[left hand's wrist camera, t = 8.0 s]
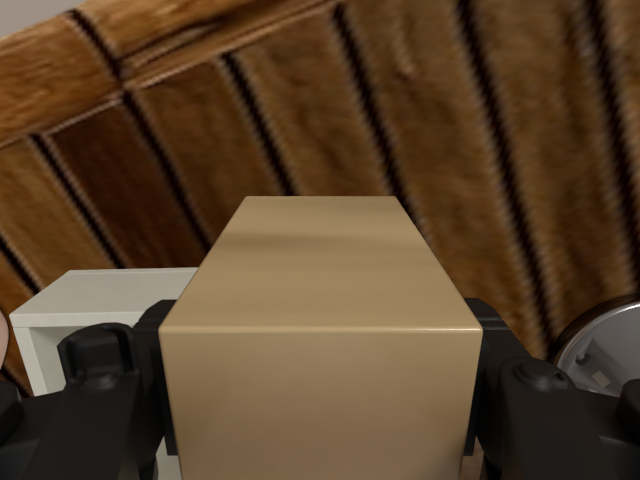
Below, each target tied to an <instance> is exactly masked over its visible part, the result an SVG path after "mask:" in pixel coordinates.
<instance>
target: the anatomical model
mask: <svg viewBox="0 0 640 480" xmlns="http://www.w3.org/2000/svg"><path fill="white" fill-rule="evenodd" d="M7 344H8V325H7V322H6V319H5V317H4V315H3V314H2V312H1V311H0V369H1V366H2V363H3V360H4V357H5V353H6V349H7Z"/></svg>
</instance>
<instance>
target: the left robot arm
mask: <svg viewBox="0 0 640 480" xmlns="http://www.w3.org/2000/svg"><path fill="white" fill-rule="evenodd" d="M463 299H464V301H465V302H466V304H467V305H468V307H469V308H470V310H471V311H472V313H473V314H474V316H475V317H476V319H477V320H478V322H479V323H480V325H481V326H482V329H483V335H482V341H481V348H480V354H479V360H478V366H477V373H476V379H475V385H474V392H473V398H472V404H471V410H470V417H469V423H468V429H467V436H466V442H465V448H464V454H463V456H473V450H474V444H475V438H476V435H477V438H478V440H479V442H480V444H481V447H482V449H483V451H484V458H483V463H482V469H481V474H480V480H640V293H638V294H631V295H626V296H622V297H618V298H615V299H612V300H609V301H607V302H604V303H602V304H600V305H598V306H596V307H594V308H593V309H591V310H589V311H588V312H586V313H585V314H583V315H582V316H581V317H579V318H578V319H577V320H576V321H575V322H573V323H572V324H571V325H570V326H569V327H568V328H567V330H566V331H565V332H564V333H563V334H562V336H561V337H560V338H559V340H558V341H557V343H556V345H555V347H554V349H553V351H552V353H551V356H550V359H549V363H548V362H546V361H544V360H540V359H536V358H532V357H531V356H530V354H529V353H528V352H527V350H526V349H525V348H524V347H523V345H522V344H521V343H520V341H519V340H518V339H517V338H516V336H515V335H514V334H513V332H512V331H511V330H509V327H508V326H507V325H506V323H505V322H504V321H502V318H501V317H500V316H499V314H498V313H497V312H496V311H495V309H494V308H493V307H492V306H490V305H488V304H487V303H485V302H484V301H482V300H480V299H479V298H463ZM176 301H177V299H162V300H160V301H158V302H157V303H155V304H154V305H152V306H151V307H149V308H147V309H146V311H145V312H144V313H143V314H142V316H141V317H140V318H139V320H138V322H136V324H135V325H134V326H133V327H132V328H131V327H130V326H129V325H127V324H123V323H118V322H108V323H100V324H95V325H90V326H87V327H85V328H82V329H79V330H77V331H75V332H73V333H71V334H70V335H68V336H66V337H65V338H63V340H62V341H61V342H60V343H59V344H58V345H57V350H58V354H59V358H60V362H61V366H62V370H63V374H64V377H65V381H66V384H65V387H64V389H63V390H61V391H57V392H53V393H48V394H44V395H39V396H34V397H29V398H24V399H21V398H20V395H19V392H18V389H17V386H15V385H14V384H13V383H11V382H8V381H1V380H0V480H158V474H159V470H158V463H157V458H156V453H157V450H158V448H159V446H160V444H161V441H162V439H163V437H164V440H165V446H166V452H167V456H178V454H177V447H176V441H175V435H174V428H173V422H172V416H171V409H170V403H169V397H168V390H167V384H166V378H165V371H164V365H163V359H162V353H161V346H160V340H159V334H158V330H159V327H160V325H161V324H162V322H163V321H164V319H165V318H166V316H167V315H168V313H169V311H170V310H171V308H172V307H173V305H174V304H175V302H176Z"/></svg>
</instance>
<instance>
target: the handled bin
mask: <svg viewBox="0 0 640 480" xmlns="http://www.w3.org/2000/svg"><path fill="white" fill-rule="evenodd" d="M197 269H198V268H154V269H109V270H69V271H68V272H67V273H65V275H63V276H61V277H60V278H59V279H57V280H56V281H55V282H53V283H52V284H51V285H49V286H48V287H46V288H45V289H44V290H42V291H41V292H40V293H38V294H37V295H35V296H34V297H33V298H31V299H30V300H29V301H27V302H26V303H24V304H23V305H22V306H20V307H19V308H18V309H16V310H15V311H14V312H12V313H11V314H10V315H9V317H10V320H11V323H12V326H13V327H14V328H13V330H14V333H15V336H16V339H17V343H18V346H19V349H20V352H21V355H22V358H23V361H24V365H25V368H26V371H27V374H28V377H29V380H30V383H31V387H32V390H33V393H34V396H39V395H44V394H48V393H53V392H57V391H61V390H63V389H64V387H65V384H66V381H65V377H64V374H63V370H62V366H61V362H60V358H59V354H58V350H57V345H58V344H59V343H60V342H61V341H62V340H63V338H65V337H66V336H68V335H70V334H71V333H73V332H75V331H77V330H79V329H82V328H85V327H87V326H90V325H95V324H100V323H108V322H118V323H123V324H127V325H129V326H130V327H131V328H132V327H133V326H134V325H135V324H136V322H138V320H139V318H140V317H141V316H142V314H143V313H144V312H145V311H146V309H147V308H149V307H151V306H152V305H154V304H155V303H157V302H158V301H160V300H162V299H178V298H179V296H180V295H181V293H182V292H183V290H184V289H185V287H186V286H187V284H188V283H189V281H190V280H191V278H192V277H193V275H194V274H195V272H196V271H197ZM156 458H157V463H158V470H159V474H158V480H182V479H181V473H180V466H179V460H178V456H167V452H166V446H165V440H164V437H163V439H162V441H161V444H160V446H159V448H158V450H157V453H156Z"/></svg>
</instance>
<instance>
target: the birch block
mask: <svg viewBox="0 0 640 480" xmlns="http://www.w3.org/2000/svg"><path fill="white" fill-rule="evenodd" d="M158 334H159V340H160V346H161V353H162V359H163V365H164V371H165V378H166V384H167V390H168V397H169V403H170V409H171V416H172V422H173V428H174V435H175V441H176V447H177V454H178V460H179V466H180V473H181V479H182V480H460V473H461V467H462V461H463V454H464V448H465V442H466V436H467V429H468V423H469V417H470V410H471V404H472V398H473V392H474V385H475V379H476V373H477V366H478V360H479V354H480V348H481V341H482V335H483V329H482V326H481V325H480V323H479V322H478V320H477V319H476V317H475V316H474V314H473V313H472V311H471V310H470V308H469V307H468V305H467V304H466V302H465V301H464V299H463V298H462V296H461V295H460V293H459V292H458V290H457V289H456V287H455V286H454V284H453V283H452V281H451V280H450V278H449V277H448V275H447V274H446V272H445V271H444V269H443V268H442V266H441V265H440V263H439V262H438V260H437V259H436V257H435V256H434V254H433V253H432V251H431V250H430V248H429V247H428V245H427V244H426V242H425V241H424V239H423V238H422V236H421V234H420V233H419V231H418V230H417V228H416V227H415V225H414V224H413V222H412V221H411V219H410V218H409V216H408V215H407V213H406V212H405V210H404V209H403V207H402V206H401V204H400V203H399V201H398V200H397V198H396V197H394V196H247V197H245V198H244V200H243V201H242V203H241V204H240V206H239V207H238V209H237V210H236V212H235V213H234V215H233V216H232V218H231V219H230V221H229V222H228V224H227V225H226V227H225V228H224V230H223V231H222V233H221V234H220V236H219V237H218V239H217V240H216V242H215V244H214V245H213V247H212V248H211V250H210V251H209V253H208V254H207V256H206V257H205V259H204V260H203V262H202V263H201V265H200V266H199V268H198V269H197V271H196V272H195V274H194V275H193V277H192V278H191V280H190V281H189V283H188V284H187V286H186V287H185V289H184V290H183V292H182V293H181V295H180V296H179V298H178V299H177V301H176V302H175V304H174V305H173V307H172V308H171V310H170V311H169V313H168V315H167V316H166V318H165V319H164V321H163V322H162V324H161V325H160V327H159V330H158Z"/></svg>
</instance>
